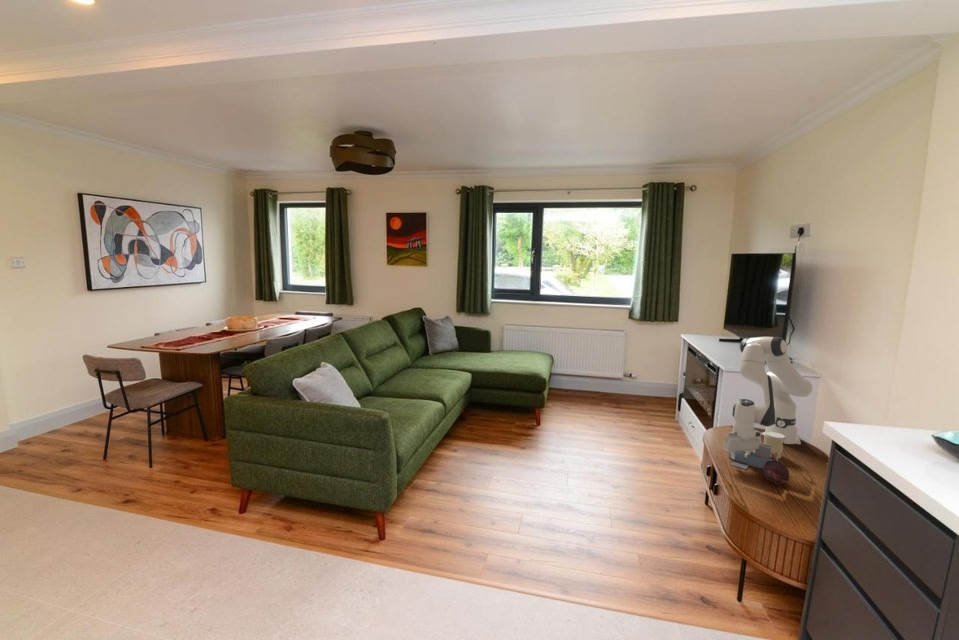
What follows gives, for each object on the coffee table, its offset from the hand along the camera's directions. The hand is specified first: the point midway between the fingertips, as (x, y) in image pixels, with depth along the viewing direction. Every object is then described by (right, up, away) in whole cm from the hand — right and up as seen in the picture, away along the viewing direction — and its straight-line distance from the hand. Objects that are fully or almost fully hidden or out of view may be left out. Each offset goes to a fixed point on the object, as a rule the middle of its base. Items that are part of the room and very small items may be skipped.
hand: (740, 458), depth 212 cm
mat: (0, -4, 0) cm, 4 cm away
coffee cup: (+25, -3, +13) cm, 29 cm away
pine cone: (+7, -6, -16) cm, 18 cm away
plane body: (+9, -4, +4) cm, 10 cm away
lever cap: (+7, +2, +6) cm, 9 cm away
